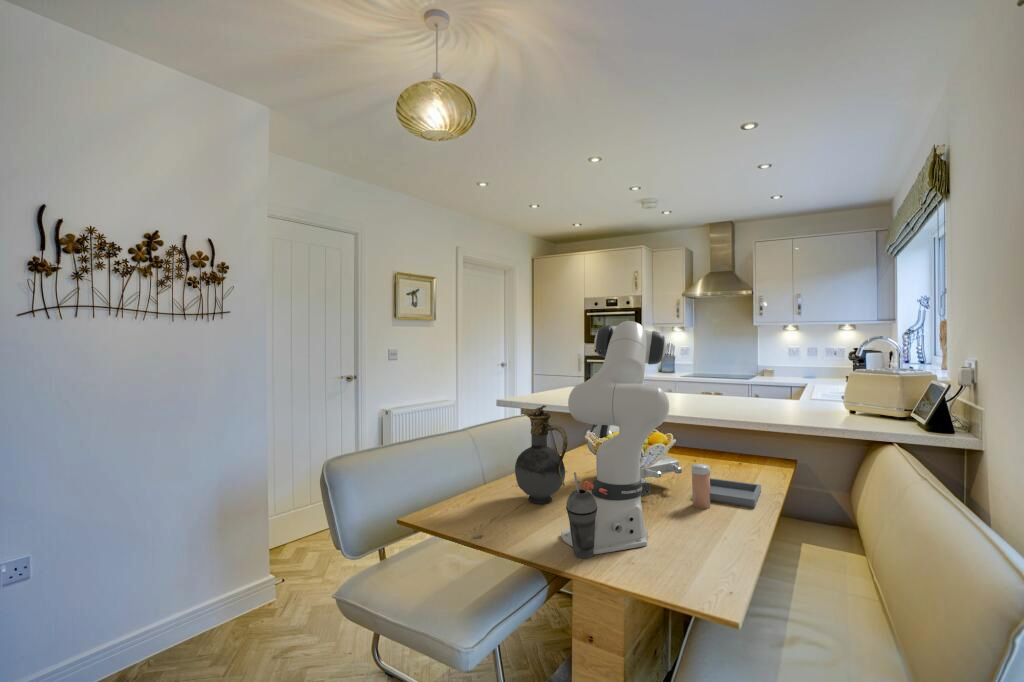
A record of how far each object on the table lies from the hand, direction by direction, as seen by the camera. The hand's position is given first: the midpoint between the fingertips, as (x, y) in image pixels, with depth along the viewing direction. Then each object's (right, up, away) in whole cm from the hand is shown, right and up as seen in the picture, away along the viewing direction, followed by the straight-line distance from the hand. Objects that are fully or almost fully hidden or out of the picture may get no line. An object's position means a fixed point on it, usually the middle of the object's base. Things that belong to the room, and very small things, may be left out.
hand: (670, 473), depth 157 cm
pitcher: (-41, -8, -5) cm, 42 cm away
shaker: (+6, -7, -11) cm, 14 cm away
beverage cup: (-34, -8, -42) cm, 55 cm away
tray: (+18, -7, -1) cm, 19 cm away
